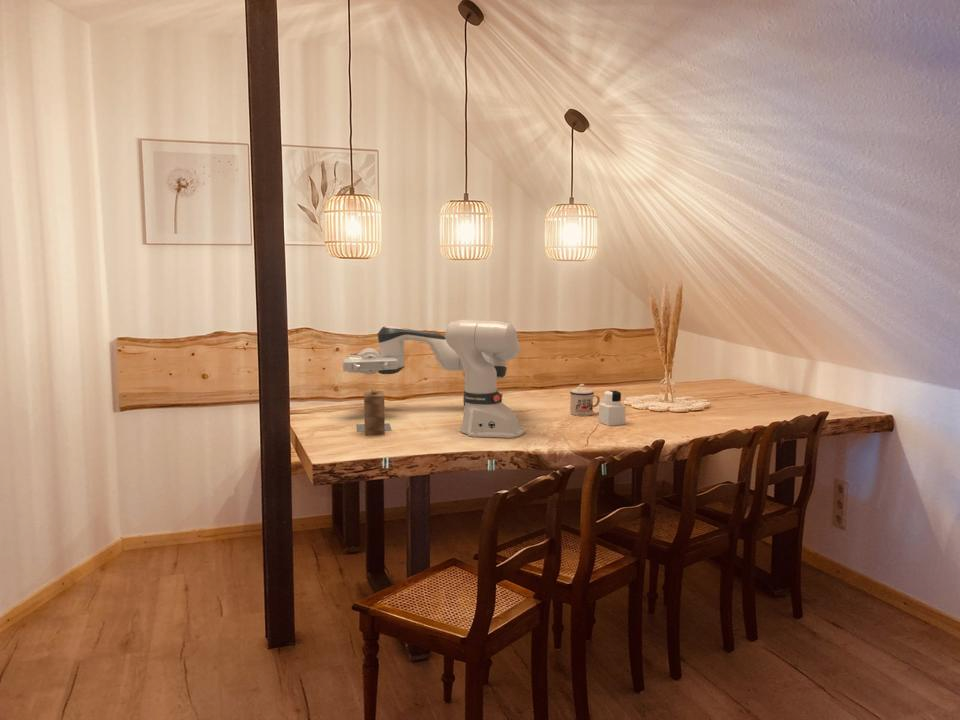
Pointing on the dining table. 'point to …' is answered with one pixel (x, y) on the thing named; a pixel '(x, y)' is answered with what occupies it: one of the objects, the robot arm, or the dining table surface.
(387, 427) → the mat
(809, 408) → the dining table surface
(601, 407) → the medicine bottle
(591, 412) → the teacup with lid
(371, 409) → the brown cylindrical container
